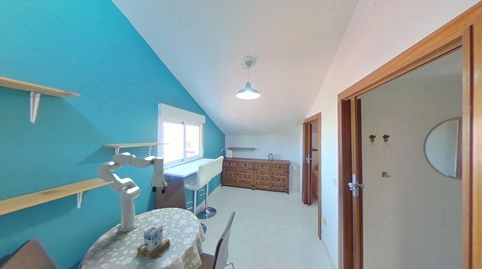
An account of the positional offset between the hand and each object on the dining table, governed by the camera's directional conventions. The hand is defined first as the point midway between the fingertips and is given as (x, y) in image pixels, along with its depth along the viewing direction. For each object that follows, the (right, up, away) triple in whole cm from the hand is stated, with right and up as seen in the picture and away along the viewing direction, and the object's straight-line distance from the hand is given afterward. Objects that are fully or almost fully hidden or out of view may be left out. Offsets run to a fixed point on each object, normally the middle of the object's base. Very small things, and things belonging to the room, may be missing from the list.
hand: (158, 192), depth 140 cm
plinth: (+8, -31, -23) cm, 40 cm away
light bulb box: (+8, -27, -23) cm, 36 cm away
